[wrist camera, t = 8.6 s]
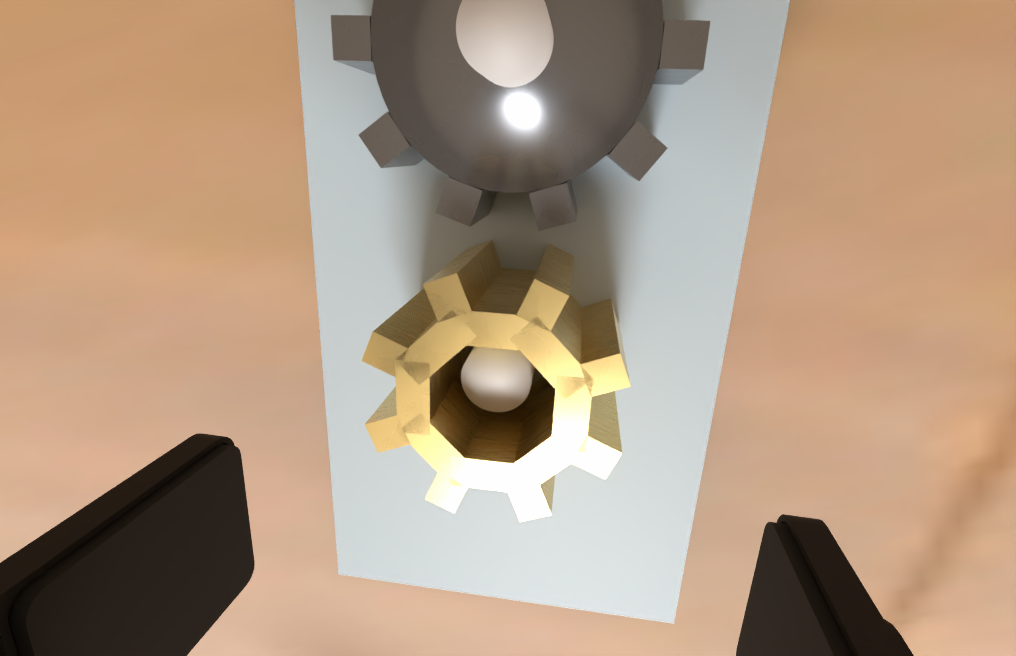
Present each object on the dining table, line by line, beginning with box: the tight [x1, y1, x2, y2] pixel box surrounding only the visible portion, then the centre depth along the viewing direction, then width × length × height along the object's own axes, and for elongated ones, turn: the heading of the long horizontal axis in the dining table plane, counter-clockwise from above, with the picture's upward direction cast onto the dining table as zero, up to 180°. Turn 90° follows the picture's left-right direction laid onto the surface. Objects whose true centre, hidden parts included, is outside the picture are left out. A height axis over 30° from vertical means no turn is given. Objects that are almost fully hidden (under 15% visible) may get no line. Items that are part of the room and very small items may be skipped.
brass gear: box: [361, 240, 631, 522], centre depth 16 cm, size 7×7×5 cm
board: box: [294, 0, 790, 623], centre depth 16 cm, size 14×26×6 cm, turn 177°
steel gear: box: [331, 0, 711, 231], centre depth 14 cm, size 9×9×3 cm
